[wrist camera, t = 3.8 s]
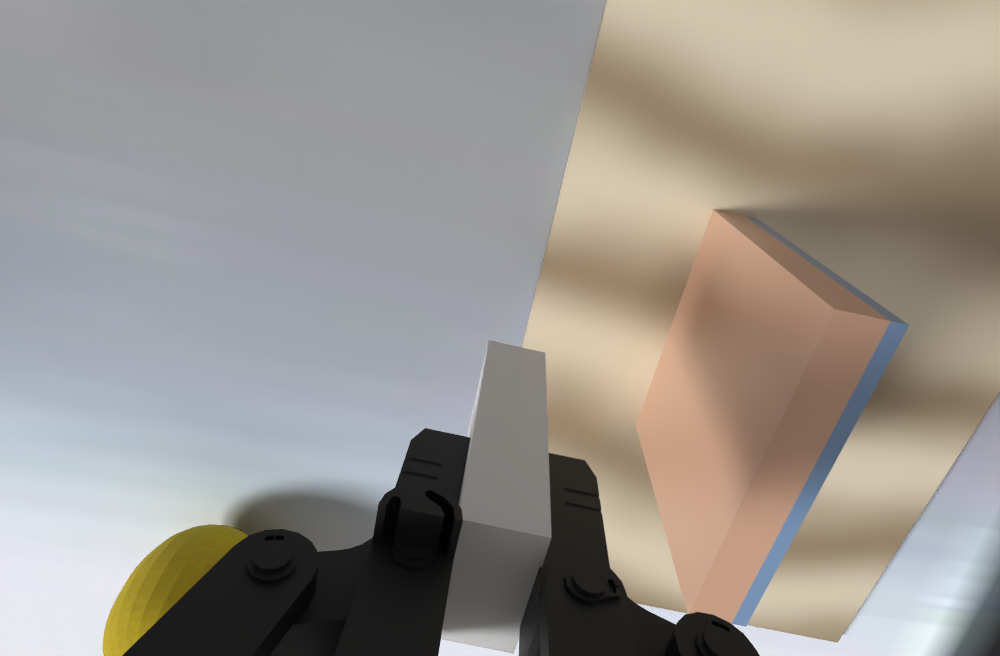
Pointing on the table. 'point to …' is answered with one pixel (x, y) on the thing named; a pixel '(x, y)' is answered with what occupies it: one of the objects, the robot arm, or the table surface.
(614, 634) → the robot arm
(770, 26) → the board
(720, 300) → the tile
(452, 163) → the table surface
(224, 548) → the lemon
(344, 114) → the table surface
